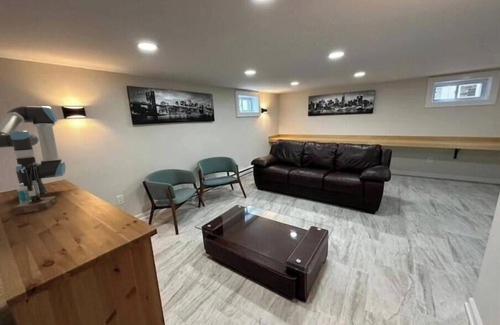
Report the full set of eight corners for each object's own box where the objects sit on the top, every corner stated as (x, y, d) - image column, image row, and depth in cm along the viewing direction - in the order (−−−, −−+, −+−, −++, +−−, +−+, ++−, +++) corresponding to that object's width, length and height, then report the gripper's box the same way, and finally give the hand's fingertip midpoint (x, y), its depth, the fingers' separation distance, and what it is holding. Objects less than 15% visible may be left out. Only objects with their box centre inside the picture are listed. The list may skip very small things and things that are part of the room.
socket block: (28, 205, 131) (27, 199, 131) (57, 201, 137) (55, 195, 136) (15, 214, 119) (13, 207, 118) (47, 209, 124) (45, 203, 124)
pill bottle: (28, 204, 133) (22, 184, 130) (16, 205, 133) (11, 185, 130) (39, 200, 140) (35, 181, 137) (29, 200, 140) (24, 181, 138)
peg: (33, 199, 128) (29, 180, 126) (42, 198, 130) (37, 180, 127) (30, 201, 124) (25, 182, 122) (38, 200, 126) (34, 181, 124)
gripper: (25, 155, 128) (33, 191, 132) (7, 159, 113) (18, 200, 117) (41, 154, 131) (48, 189, 135) (25, 158, 116) (35, 197, 120)
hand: (34, 194), depth 126 cm, fingers closed on peg, 4 cm apart
